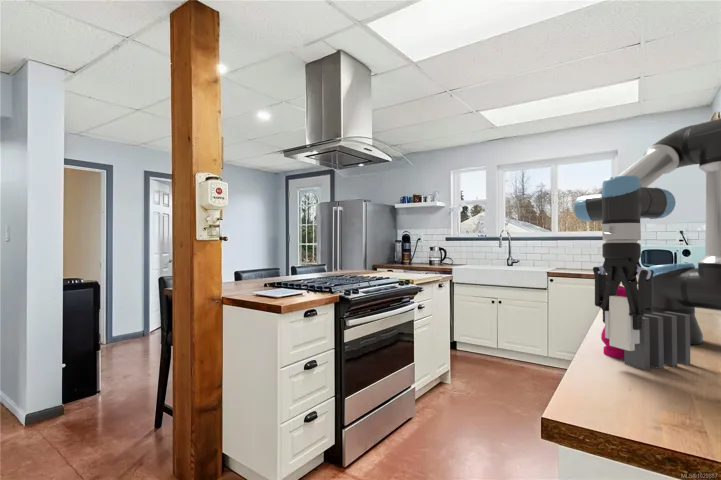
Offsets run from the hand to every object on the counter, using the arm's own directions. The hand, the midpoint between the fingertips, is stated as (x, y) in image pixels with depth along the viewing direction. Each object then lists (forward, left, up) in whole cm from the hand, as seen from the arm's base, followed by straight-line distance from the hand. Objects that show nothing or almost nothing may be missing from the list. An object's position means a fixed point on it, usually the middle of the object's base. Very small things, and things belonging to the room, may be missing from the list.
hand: (621, 340), depth 91 cm
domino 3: (-14, +2, -7) cm, 15 cm away
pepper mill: (-10, -7, -7) cm, 14 cm away
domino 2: (-9, +1, -7) cm, 11 cm away
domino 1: (-5, +1, -7) cm, 8 cm away
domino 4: (-18, +3, -7) cm, 19 cm away
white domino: (0, 0, -2) cm, 2 cm away
